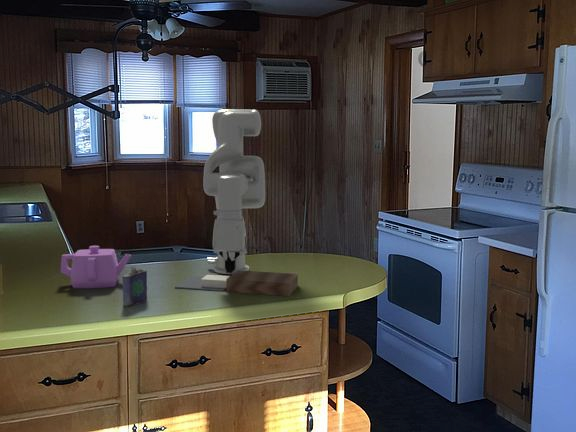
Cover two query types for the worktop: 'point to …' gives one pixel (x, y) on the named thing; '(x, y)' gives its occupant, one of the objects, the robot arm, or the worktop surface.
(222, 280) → the tile
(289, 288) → the deck
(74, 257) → the teakettle
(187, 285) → the mat
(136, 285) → the flask
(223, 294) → the worktop surface
